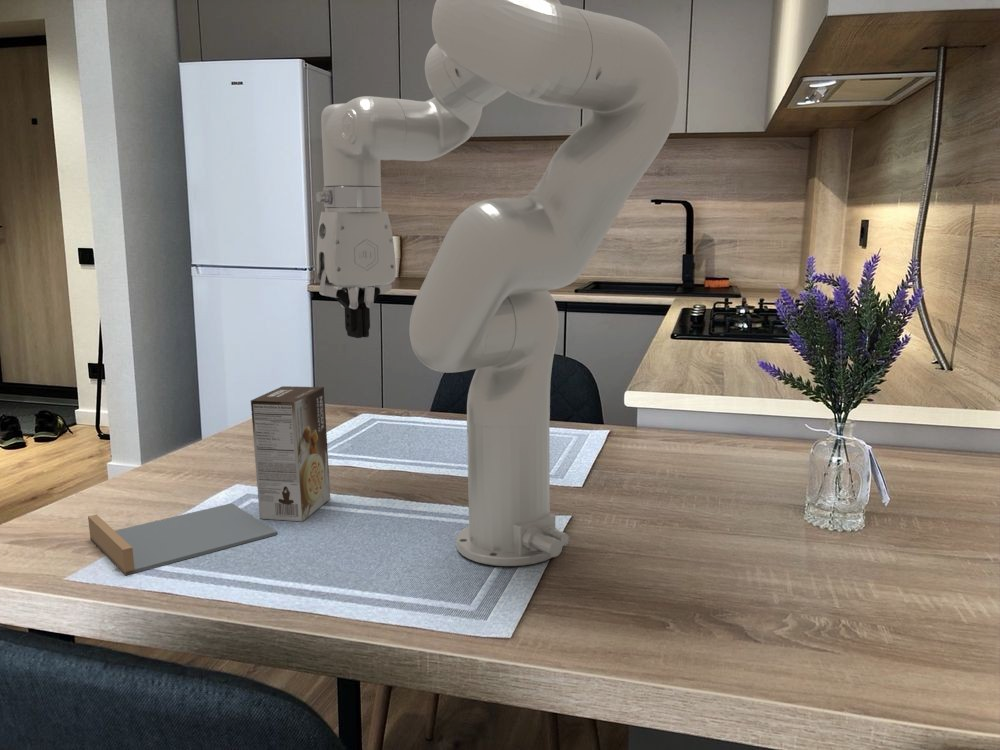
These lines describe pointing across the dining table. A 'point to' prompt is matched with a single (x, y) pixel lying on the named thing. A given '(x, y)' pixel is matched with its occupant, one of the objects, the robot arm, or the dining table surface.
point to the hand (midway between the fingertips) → (358, 336)
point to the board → (176, 537)
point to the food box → (291, 452)
